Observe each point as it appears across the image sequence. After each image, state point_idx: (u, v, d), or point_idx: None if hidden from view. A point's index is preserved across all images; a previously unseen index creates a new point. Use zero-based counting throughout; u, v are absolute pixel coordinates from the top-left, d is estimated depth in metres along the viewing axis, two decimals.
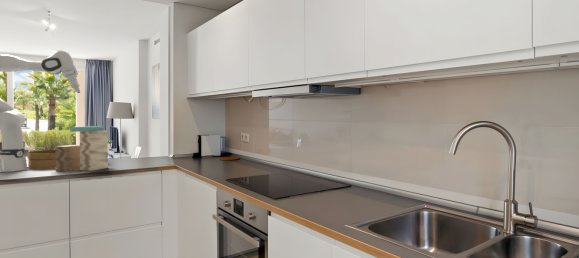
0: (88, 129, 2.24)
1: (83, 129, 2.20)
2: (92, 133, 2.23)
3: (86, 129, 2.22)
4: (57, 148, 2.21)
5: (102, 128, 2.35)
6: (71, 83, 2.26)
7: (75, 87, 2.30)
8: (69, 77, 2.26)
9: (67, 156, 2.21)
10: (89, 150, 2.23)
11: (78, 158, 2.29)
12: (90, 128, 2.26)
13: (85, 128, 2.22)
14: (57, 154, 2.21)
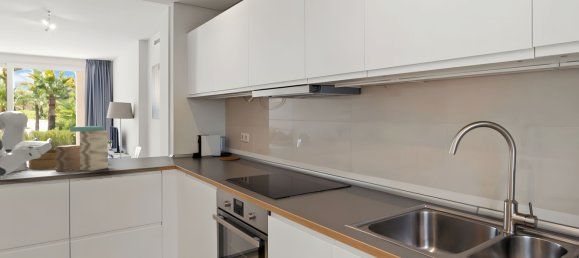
0: (88, 129, 2.24)
1: (83, 129, 2.20)
2: (92, 133, 2.23)
3: (86, 129, 2.22)
4: (57, 148, 2.21)
5: (102, 128, 2.35)
6: (51, 146, 1.89)
7: (48, 142, 1.92)
8: (43, 150, 1.85)
9: (67, 156, 2.21)
10: (89, 150, 2.23)
11: (78, 158, 2.29)
12: (90, 128, 2.26)
13: (85, 128, 2.22)
14: (57, 154, 2.21)
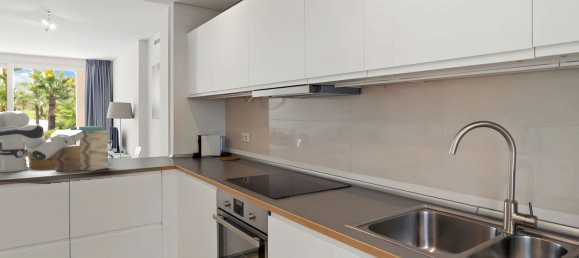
0: (88, 129, 2.24)
1: (83, 129, 2.20)
2: (92, 133, 2.23)
3: (86, 129, 2.22)
4: None
5: (102, 128, 2.35)
6: (83, 134, 2.10)
7: None
8: (77, 138, 2.06)
9: (67, 156, 2.21)
10: (89, 150, 2.23)
11: (78, 158, 2.29)
12: (90, 128, 2.26)
13: (85, 128, 2.22)
14: (57, 154, 2.21)
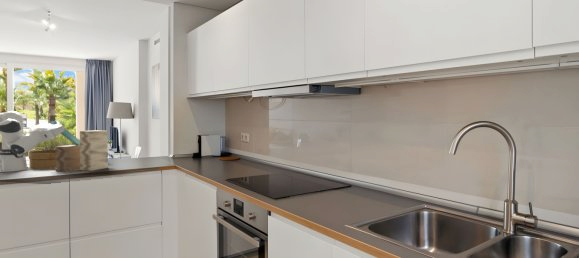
0: (66, 133, 2.20)
1: None
2: (92, 133, 2.23)
3: (65, 131, 2.19)
4: (57, 148, 2.21)
5: (79, 142, 2.30)
6: (63, 128, 2.08)
7: None
8: (57, 132, 2.05)
9: (67, 156, 2.21)
10: (89, 150, 2.23)
11: (78, 158, 2.29)
12: (69, 134, 2.22)
13: (64, 130, 2.19)
14: (57, 154, 2.21)
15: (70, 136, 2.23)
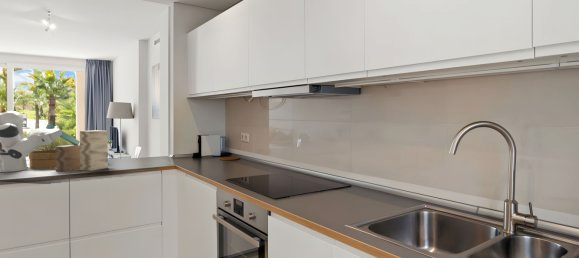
0: (63, 135, 2.20)
1: None
2: (92, 133, 2.23)
3: (62, 134, 2.19)
4: (57, 148, 2.21)
5: (77, 142, 2.31)
6: (61, 132, 2.09)
7: None
8: (54, 136, 2.05)
9: (67, 156, 2.21)
10: (89, 150, 2.23)
11: (78, 158, 2.29)
12: (66, 135, 2.22)
13: None
14: (57, 154, 2.21)
15: (68, 137, 2.23)
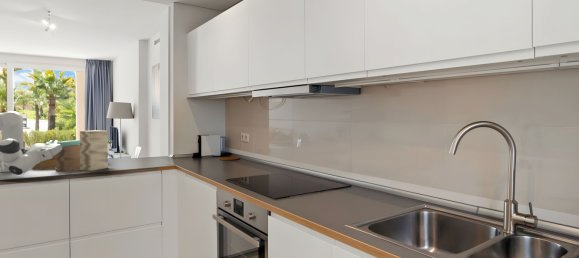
0: (64, 144, 2.21)
1: None
2: (92, 133, 2.23)
3: (62, 144, 2.20)
4: None
5: None
6: (61, 148, 2.10)
7: (56, 144, 2.13)
8: (55, 152, 2.06)
9: (67, 156, 2.21)
10: (89, 150, 2.23)
11: (78, 158, 2.29)
12: (67, 143, 2.23)
13: (61, 144, 2.19)
14: (57, 154, 2.21)
15: (69, 144, 2.25)
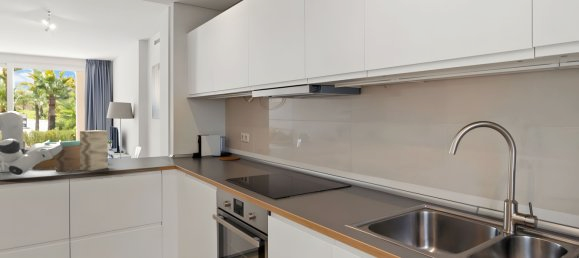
0: (64, 144, 2.21)
1: None
2: (92, 133, 2.23)
3: (62, 144, 2.20)
4: None
5: None
6: (61, 148, 2.10)
7: None
8: (55, 152, 2.06)
9: (67, 156, 2.21)
10: (89, 150, 2.23)
11: (78, 158, 2.29)
12: (67, 143, 2.23)
13: None
14: (57, 154, 2.21)
15: (69, 144, 2.25)
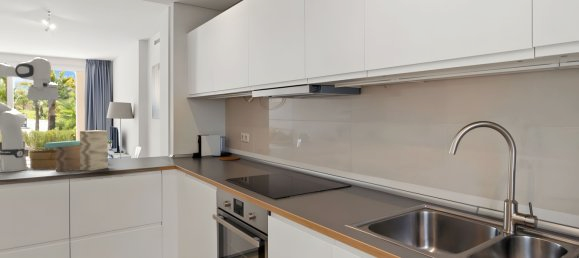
0: (64, 144, 2.21)
1: (59, 145, 2.17)
2: (92, 133, 2.23)
3: (62, 144, 2.20)
4: (57, 148, 2.21)
5: None
6: (54, 97, 2.04)
7: (51, 102, 2.06)
8: (54, 90, 2.04)
9: (67, 156, 2.21)
10: (89, 150, 2.23)
11: (78, 158, 2.29)
12: (67, 143, 2.23)
13: (61, 143, 2.19)
14: (57, 154, 2.21)
15: (69, 144, 2.25)
